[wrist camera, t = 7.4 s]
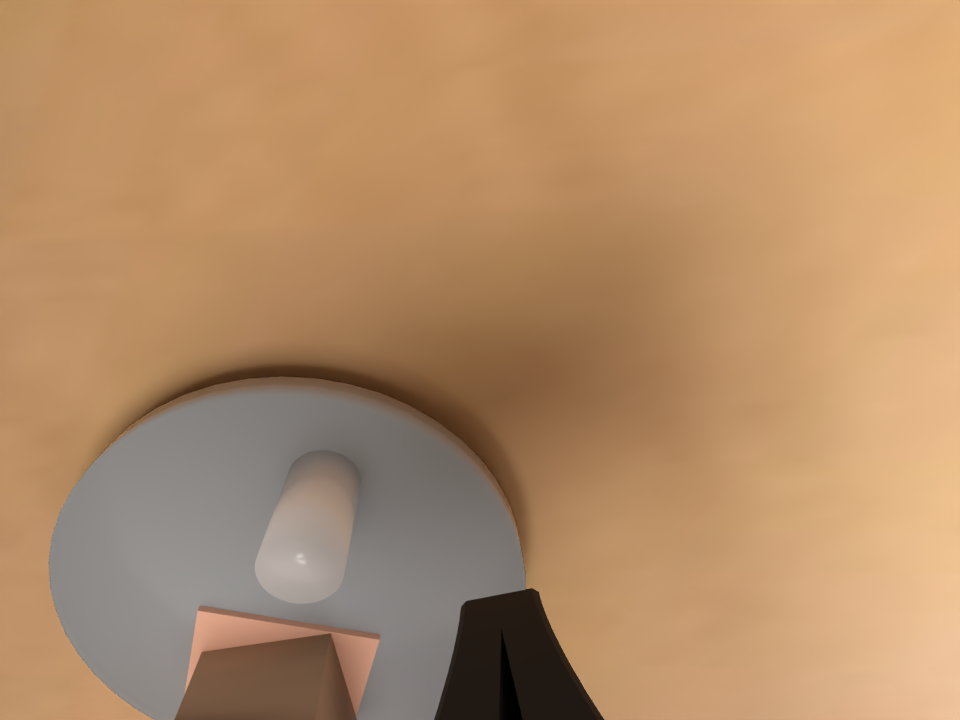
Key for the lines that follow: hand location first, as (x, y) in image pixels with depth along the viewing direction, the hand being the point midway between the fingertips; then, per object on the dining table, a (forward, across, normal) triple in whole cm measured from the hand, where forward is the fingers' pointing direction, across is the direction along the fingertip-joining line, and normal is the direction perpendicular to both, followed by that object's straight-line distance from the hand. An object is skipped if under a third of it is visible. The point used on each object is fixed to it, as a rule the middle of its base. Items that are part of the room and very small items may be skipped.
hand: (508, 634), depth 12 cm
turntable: (+9, +7, +4) cm, 12 cm away
